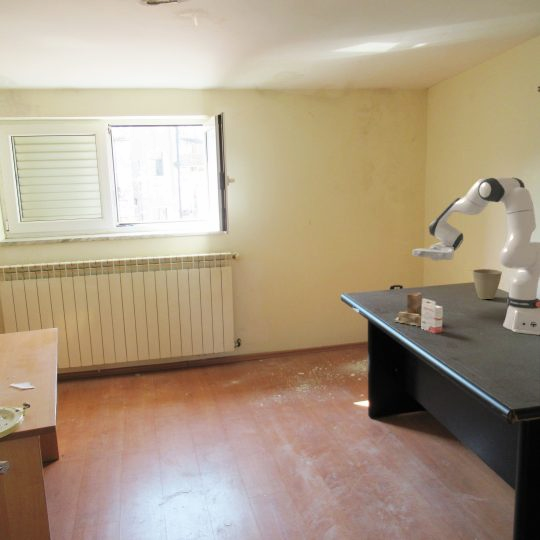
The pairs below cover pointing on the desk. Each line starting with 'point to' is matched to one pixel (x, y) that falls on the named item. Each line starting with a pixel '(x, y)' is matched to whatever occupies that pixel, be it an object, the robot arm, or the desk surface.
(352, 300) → the desk surface
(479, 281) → the plant pot
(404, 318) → the track
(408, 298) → the tall tan wooden block
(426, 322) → the ink cartridge box
